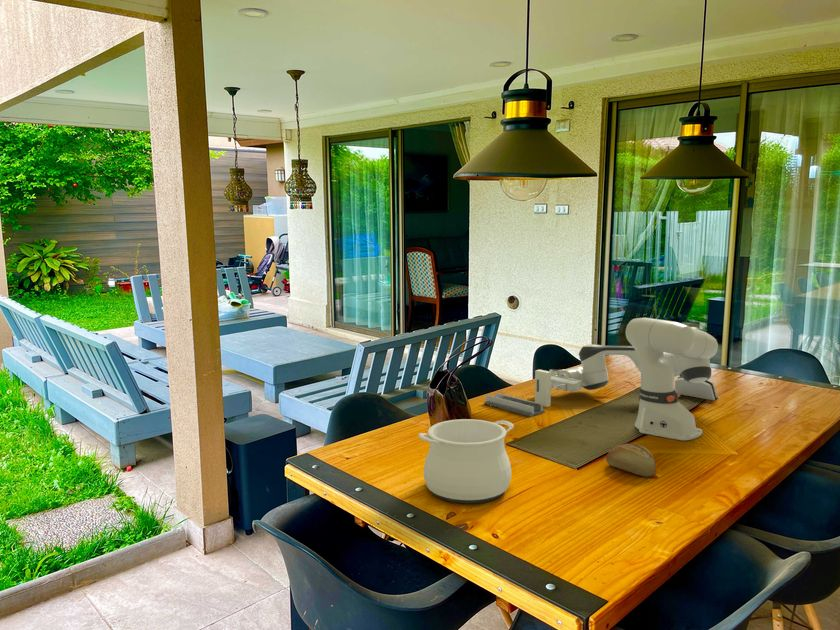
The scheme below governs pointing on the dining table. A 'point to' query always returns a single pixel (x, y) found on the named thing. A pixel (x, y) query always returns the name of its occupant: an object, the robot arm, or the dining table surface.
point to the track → (515, 404)
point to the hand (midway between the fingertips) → (546, 385)
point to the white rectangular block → (543, 387)
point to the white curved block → (696, 389)
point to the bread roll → (632, 459)
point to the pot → (467, 460)
